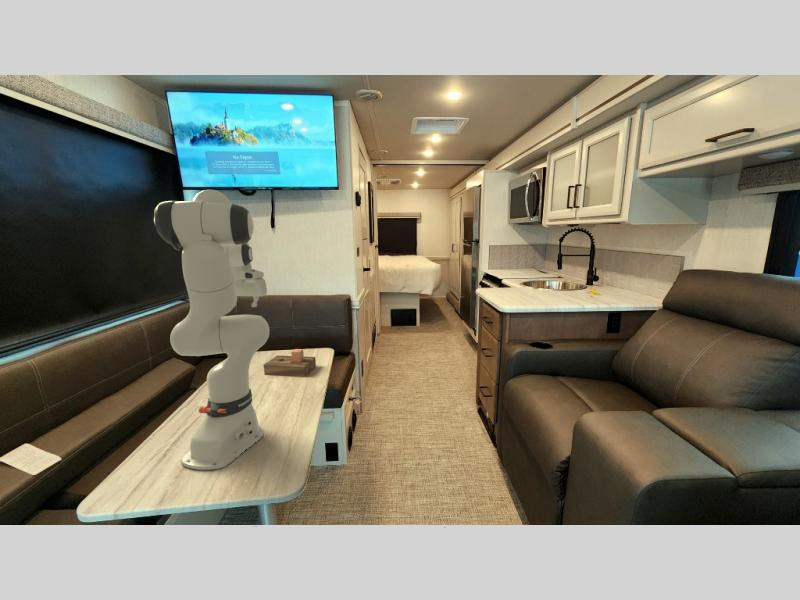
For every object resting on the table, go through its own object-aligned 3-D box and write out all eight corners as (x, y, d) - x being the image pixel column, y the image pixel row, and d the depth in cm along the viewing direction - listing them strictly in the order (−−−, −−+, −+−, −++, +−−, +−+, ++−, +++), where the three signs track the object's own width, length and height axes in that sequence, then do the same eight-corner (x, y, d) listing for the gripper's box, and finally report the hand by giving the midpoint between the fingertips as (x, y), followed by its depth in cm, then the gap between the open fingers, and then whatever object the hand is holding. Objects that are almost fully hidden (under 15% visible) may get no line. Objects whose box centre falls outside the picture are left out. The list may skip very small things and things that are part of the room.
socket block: (305, 376, 142) (304, 366, 141) (264, 374, 144) (263, 364, 144) (315, 366, 153) (315, 356, 152) (278, 364, 156) (277, 354, 155)
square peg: (300, 372, 146) (299, 352, 144) (292, 372, 147) (291, 351, 145) (304, 369, 150) (303, 349, 148) (296, 368, 150) (295, 349, 149)
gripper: (212, 274, 127) (216, 307, 129) (258, 274, 124) (261, 308, 126) (223, 272, 133) (226, 304, 135) (267, 272, 130) (270, 305, 132)
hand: (244, 306), depth 131 cm, fingers open, 8 cm apart
